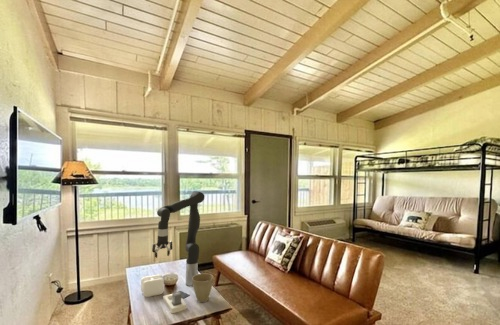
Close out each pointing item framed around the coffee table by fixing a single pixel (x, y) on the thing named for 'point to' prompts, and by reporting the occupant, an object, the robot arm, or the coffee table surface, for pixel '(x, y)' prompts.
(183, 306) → the outlet plate
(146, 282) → the cable organizer
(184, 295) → the phone slab
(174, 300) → the block
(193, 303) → the coffee table surface
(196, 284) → the plant pot
